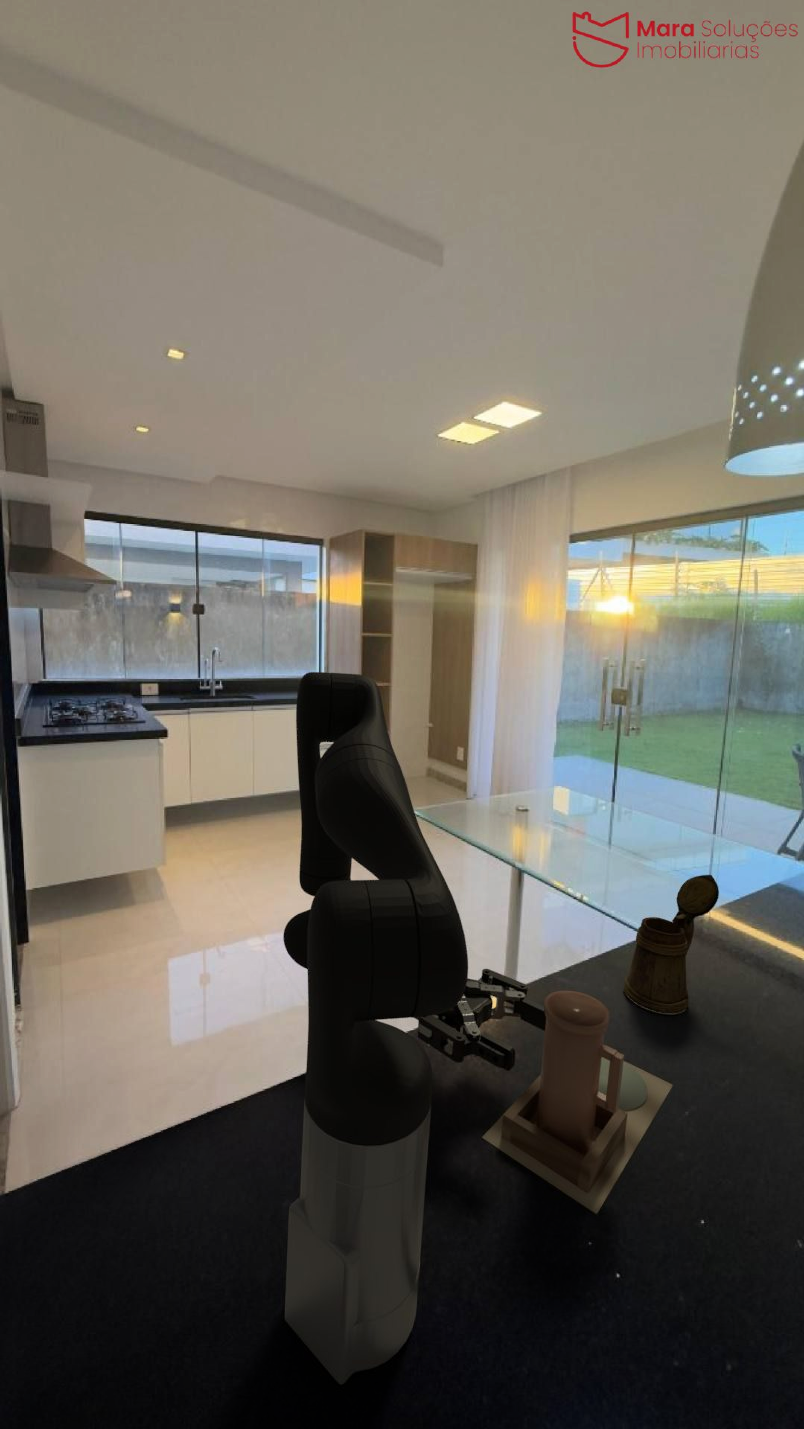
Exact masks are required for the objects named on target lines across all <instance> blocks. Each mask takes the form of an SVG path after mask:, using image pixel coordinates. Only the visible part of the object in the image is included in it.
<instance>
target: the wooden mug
mask: <svg viewBox="0 0 804 1429" xmlns="http://www.w3.org/2000/svg"><path fill="white" fill-rule="evenodd" d="M719 891H720V890H719V885H718V883H717V881H716V879H715V877H714V876H713V875H712V874H701V875H697V876H693V877H690V878H688V879H687V880H686V881H685V882H684V883H683V884H682V885H681V887H680V889H679V890H678V892H677V896H676V904H677V905H676V906H677V909H678V910H677V912H676V914H675V916H674V917H673V919H672V920H669V919H665V918H661V917H656V916H649V917H644V918H643V919H642V920H641V924H640V926H639V927H637V928H638V929H637V932H636V936H635V942H636V946H635V949H634V953H633V957H632V959H631V963H630V968H629V971H628V974H627V975H626V977H625V980H624V984H623V986H624V992H625V993H626V995H627V996H629V998H630V999H632V1000H633V1001H634V1002H636V1003H637V1004H638V1005H641V1006H643V1007H645V1008H648V1009H650V1010H654V1011H656V1012H661V1013H679V1012H682V1011H683V1010H685V1009H686V1008H687V1007H688V1005H689V1002H690V1001H689V1000H690V999H689V997H690V996H689V990H688V986H687V985H688V984H687V954H688V953H689V950H690V946H691V945H692V942H693V936H694V931H695V930H694V929H695V920H696V918H698V917H702V916H704V915H706V914H709V913H710V911H712V909H713V908H714V907H715V906H716V904H717V902H718V899H719V896H720V895H719V894H720V892H719ZM624 992H623V993H624ZM625 993H624V994H625ZM626 995H625V996H626ZM689 1006H690V1005H689ZM688 1008H689V1007H688Z"/></svg>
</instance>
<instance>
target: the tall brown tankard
mask: <svg viewBox="0 0 804 1429" xmlns="http://www.w3.org/2000/svg"><path fill="white" fill-rule="evenodd" d="M543 1007H544V1013H545V1016H546V1027H545V1031H544V1040H543V1050H542V1060H541V1061H542V1062H541V1070H540V1071H541V1072H540V1075H541V1079H540V1090H539V1101H538V1111H537V1122H536V1126H537V1127H538V1128H540V1129H542V1130H543V1131H545V1132H547V1133H548V1134H550V1135H551V1136H553V1137H555V1138H556V1139H558V1140H560V1141H561V1142H563V1143H564V1144H566V1145H568V1146H569V1147H571V1148H573V1149H574V1150H576V1151H577V1152H579V1153H581V1154H582V1155H584V1156H585V1155H586V1154H587V1152H588V1151H589V1149H590V1148H591V1146H592V1143H593V1133H594V1124H595V1115H596V1105H599V1106H601V1107H602V1108H604V1109H606V1110H610V1111H612V1112H613V1113H616V1111H617V1110H618V1106H619V1098H620V1089H621V1080H622V1071H623V1062H624V1061H625V1054H622V1053H621V1052H618V1050H616V1049H614V1048H612V1047H610V1046H608V1045H606V1044H604V1039H605V1032H606V1031H607V1029H608V1028H609V1025H610V1024H609V1023H610V1012H609V1009H607V1007H606V1005H604V1003H602V1002H601V1001H600V1000H598V999H596V998H594V997H593V996H591V995H588V994H586V993H584V992H579V991H575V990H574V991H573V990H558V991H554V992H551V993H550V994H548V995H547V996H546V997H545V1000H544V1005H543ZM602 1057H603V1058H605V1059H607V1060H609V1061H610V1066H609V1075H608V1084H607V1093H606V1095H605V1094H603V1093H601V1092H599V1091H598V1087H599V1078H600V1068H601V1059H602Z"/></svg>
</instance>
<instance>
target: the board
mask: <svg viewBox="0 0 804 1429" xmlns="http://www.w3.org/2000/svg"><path fill="white" fill-rule="evenodd" d="M609 1066H610V1061H609V1060H607V1059H605V1058H603V1057H602V1059H601V1068H600V1078H599V1087H598V1091H599V1092H601V1093H603V1094H605V1095H606V1093H607V1084H608V1075H609ZM540 1079H541V1074H540V1075H538V1077H537V1078H536V1079H535V1080H534V1081H533V1082H532V1083H531V1084H530V1085H529V1086H528V1087H527V1088H526V1089H525V1090H524V1092H523V1093H522V1094H521V1095H519V1097H518V1098H517V1099H516V1101H515V1102H513V1103H512V1105H511V1106H510V1107H509V1108H508V1109H507V1110H506V1111H505V1112H504V1113H503V1114H502V1115H501V1116H500V1117H499V1119H498V1120H497V1121H496V1122H495V1123H494V1124H493V1125H492V1126H491V1127H490V1128H489V1129H488V1130H487V1131H486V1132H485V1133H484V1135H482V1136H481V1138H482V1139H484V1140H485V1141H486V1142H488V1143H489V1144H491V1145H492V1146H494V1147H495V1148H497V1149H498V1150H499V1151H501V1152H503V1153H505V1154H506V1155H507V1156H508V1157H510V1158H512V1159H513V1160H515V1161H516V1162H518V1163H519V1164H521V1165H522V1166H524V1167H525V1168H527V1169H528V1170H529V1171H531V1172H533V1173H534V1174H535V1175H537V1176H539V1177H540V1178H542V1179H543V1180H544V1181H546V1182H548V1183H549V1184H550V1185H552V1187H553V1186H554V1187H555V1188H556V1189H558V1190H560V1191H561V1192H562V1193H564V1194H565V1195H567V1196H568V1197H569V1198H571V1199H573V1200H575V1201H576V1202H577V1203H579V1204H581V1205H582V1206H583V1207H585V1208H586V1209H588V1210H589V1211H591V1212H592V1213H594V1214H595V1215H597V1214H599V1211H600V1209H601V1208H602V1206H603V1204H604V1202H605V1201H606V1199H607V1198H608V1196H609V1194H610V1193H611V1191H612V1189H613V1188H614V1186H615V1184H616V1183H617V1181H618V1179H619V1177H620V1175H621V1174H622V1173H623V1171H624V1169H625V1167H626V1165H628V1162H629V1160H630V1159H631V1158H632V1156H633V1153H634V1152H635V1150H636V1149H637V1147H638V1145H639V1144H640V1142H641V1140H642V1138H643V1137H644V1135H645V1134H646V1131H648V1129H649V1127H650V1125H651V1123H652V1121H653V1120H654V1118H655V1117H656V1115H657V1113H658V1112H659V1110H660V1108H661V1107H662V1105H663V1104H664V1102H665V1099H666V1098H667V1096H668V1094H669V1093H670V1091H671V1090H672V1088H673V1086H674V1085H673V1084H672V1083H670V1082H668V1081H665V1080H663V1079H662V1078H660V1077H658V1076H655V1075H654V1074H651V1073H649V1072H647V1071H645V1070H643V1069H641V1068H639V1067H637V1066H635V1065H633V1064H631V1063H629V1062H627V1061H625V1060H624V1062H623V1071H622V1080H621V1089H620V1098H619V1106H618V1110H617V1111H616V1113H613V1112H612V1111H610V1110H606V1109H604V1108H602V1107H601V1106H599V1105H596V1115H595V1124H594V1133H593V1143H592V1146H591V1148H590V1149H589V1151H588V1152H587V1154H586V1155H585V1156H584V1155H582V1154H581V1153H579V1152H577V1151H576V1150H574V1149H573V1148H571V1147H569V1146H568V1145H566V1144H564V1143H563V1142H561V1141H560V1140H558V1139H556V1138H555V1137H553V1136H551V1135H550V1134H548V1133H547V1132H545V1131H543V1130H542V1129H540V1128H538V1127H537V1126H536V1122H537V1111H538V1101H539V1090H540Z"/></svg>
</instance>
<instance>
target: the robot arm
mask: <svg viewBox="0 0 804 1429" xmlns="http://www.w3.org/2000/svg"><path fill="white" fill-rule="evenodd" d="M296 697H297V698H296V709H295V710H296V713H295V722H296V724H295V726H296V727H295V729H296V731H295V732H296V753H297V756H296V757H297V758H296V759H297V776H298V777H297V778H298V789H299V790H298V791H299V801H300V814H301V815H300V816H301V820H300V821H301V834H300V837H301V840H300V854H299V856H300V857H299V876H298V877H299V885H300V888H301V889H302V891H303V892H304V893H305V894H307V895H309V896H312V897H313V900H312V902H311V906H310V908H309V909H306V910H305V911H302V912H299V913H297V914H295V915H294V916H293V917H291V918H290V919H289V920H288V922H287V923H286V925H285V928H284V930H283V945H284V948H285V951H286V952H287V954H288V956H290V959H292V960H293V961H294V963H296V964H297V965H298V966H300V967H302V968H304V969H306V970H307V1000H308V1001H307V1008H308V1011H307V1012H308V1013H307V1015H308V1016H307V1019H308V1020H307V1021H308V1025H307V1028H308V1029H307V1048H306V1049H307V1050H306V1052H307V1053H306V1068H305V1069H306V1071H305V1080H304V1081H305V1084H304V1101H303V1102H304V1103H303V1104H304V1105H303V1126H302V1148H301V1165H300V1166H301V1168H300V1190H299V1191H300V1192H299V1193H300V1195H299V1197H298V1198H297V1199H295V1200H294V1201H293V1202H292V1203H291V1204H290V1205H289V1210H288V1223H287V1224H288V1226H287V1227H288V1228H287V1229H288V1230H287V1247H286V1248H287V1251H286V1252H287V1253H286V1255H287V1256H286V1275H285V1276H286V1277H285V1298H284V1300H285V1301H284V1303H285V1304H284V1320H285V1322H286V1323H287V1324H288V1325H289V1327H290V1328H291V1330H293V1331H294V1333H295V1334H296V1335H297V1336H298V1338H299V1339H300V1340H301V1341H302V1342H303V1343H304V1345H305V1346H306V1347H307V1348H308V1349H309V1350H310V1352H311V1353H312V1354H313V1355H314V1356H315V1358H316V1359H317V1360H318V1361H319V1362H320V1363H321V1365H322V1366H323V1367H324V1368H325V1369H326V1371H328V1374H330V1375H331V1376H332V1378H333V1379H334V1380H335V1381H336V1382H337V1383H338V1385H344V1384H345V1383H346V1382H347V1380H348V1379H349V1378H350V1377H352V1376H353V1375H354V1373H357V1372H360V1371H365V1370H371V1369H375V1368H377V1367H378V1366H380V1365H382V1364H385V1363H386V1362H388V1361H389V1360H390V1359H392V1358H393V1357H394V1356H395V1355H396V1354H397V1353H398V1352H399V1351H400V1350H401V1349H402V1347H403V1346H404V1345H405V1343H406V1342H407V1340H408V1339H409V1336H410V1335H411V1332H412V1330H413V1329H414V1328H413V1327H414V1323H415V1320H416V1316H417V1307H418V1306H417V1305H418V1304H417V1303H418V1295H419V1294H418V1293H419V1292H418V1291H419V1281H420V1280H419V1278H420V1265H421V1253H422V1252H421V1251H422V1236H423V1235H422V1234H423V1224H424V1223H423V1220H424V1208H425V1192H426V1180H427V1179H426V1178H427V1163H428V1151H429V1150H428V1149H429V1139H430V1126H431V1125H430V1124H431V1113H432V1111H431V1110H432V1098H433V1097H432V1096H433V1087H434V1086H433V1084H434V1079H433V1077H434V1076H433V1066H432V1063H431V1060H430V1057H429V1055H428V1053H427V1052H426V1050H425V1049H424V1047H423V1046H422V1044H420V1042H419V1041H418V1040H417V1039H415V1038H414V1037H413V1036H412V1035H410V1034H409V1033H408V1032H405V1031H404V1030H402V1029H400V1028H398V1027H396V1026H393V1025H391V1024H388V1023H386V1022H382V1020H394V1019H406V1018H407V1019H408V1018H411V1019H412V1018H413V1019H415V1020H417V1022H418V1025H417V1038H418V1039H419V1040H421V1041H422V1042H424V1043H426V1044H428V1045H429V1047H432V1048H433V1049H435V1050H436V1051H438V1052H439V1053H440V1054H442V1055H444V1056H445V1057H447V1058H449V1060H452V1061H453V1062H455V1063H459V1064H460V1063H462V1062H464V1060H465V1057H466V1056H467V1057H468V1056H469V1057H472V1058H477V1057H479V1058H481V1059H482V1060H484V1061H486V1062H487V1063H490V1064H492V1065H493V1066H495V1067H496V1068H499V1069H503V1070H505V1071H507V1072H509V1071H511V1070H512V1069H513V1068H514V1067H515V1062H516V1049H515V1048H514V1047H513V1046H511V1045H510V1044H508V1043H505V1042H504V1041H502V1040H500V1039H498V1038H497V1037H494V1036H492V1035H490V1034H488V1033H486V1032H483V1033H482V1034H481V1031H480V1027H481V1026H482V1024H484V1023H485V1022H488V1021H489V1020H490V1019H491V1020H503V1018H504V1017H514V1018H520V1020H521V1021H523V1022H526V1023H528V1025H529V1024H530V1025H531V1026H534V1027H536V1028H537V1029H539V1030H541V1031H544V1032H545V1027H546V1016H545V1013H544V1005H542V1004H539V1003H537V1002H534V1001H533V1000H530V999H528V988H529V986H528V985H527V984H526V983H524V982H521V981H519V980H517V979H513V978H512V977H509V976H507V975H504V974H501V973H499V972H497V971H494V970H492V969H489V968H483V969H482V970H481V977H480V978H478V980H477V979H472V978H468V976H469V957H468V950H467V941H466V936H465V931H464V927H463V923H462V919H461V916H460V914H459V913H460V912H459V910H458V906H457V904H456V902H455V899H454V896H453V894H452V891H451V890H450V888H449V886H448V883H447V881H446V879H445V877H444V875H443V873H442V871H441V869H440V867H439V866H438V863H437V861H436V860H435V857H434V854H433V853H432V851H431V848H430V847H429V845H428V843H427V841H426V839H425V837H424V835H423V833H422V830H421V827H420V825H419V822H418V819H417V816H416V812H415V810H414V805H413V803H412V800H411V796H410V791H409V789H408V785H407V781H406V779H405V776H404V773H403V769H402V767H401V765H400V762H399V761H398V758H397V756H396V753H395V751H394V748H393V744H392V741H391V738H390V735H389V733H388V732H389V731H388V728H387V724H386V723H387V722H386V717H385V710H384V705H383V702H382V695H381V692H380V689H379V686H378V684H377V683H376V681H375V680H374V679H373V678H372V677H370V676H367V675H364V674H357V673H345V672H344V673H342V672H322V671H311V672H310V671H309V672H307V673H305V674H304V675H303V676H301V679H300V681H299V685H298V688H297V696H296ZM322 743H332V744H331V745H330V746H329V747H328V748H327V749H326V750H325V752H324V753H323V754H322V755H321V744H322ZM352 859H353V860H354V861H355V862H357V863H358V864H359V865H360V866H362V867H363V869H364V868H365V869H366V871H368V872H369V873H370V874H372V875H373V876H374V877H376V878H377V879H355V880H354V879H352V878H351V876H352V875H351V874H352V864H353V863H352V861H353V860H352ZM510 989H512V990H510ZM492 997H494V998H496V999H495V1000H496V1002H495V1006H494V1005H493V1004H494V1003H493V998H492ZM505 1002H506V1003H507V1004H510V1005H513V1006H510V1005H509V1006H508V1005H507V1006H506V1005H505ZM493 1006H494V1007H493ZM380 1020H381V1021H380ZM448 1040H449V1041H450V1042H452V1044H450V1043H449V1041H448Z"/></svg>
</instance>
